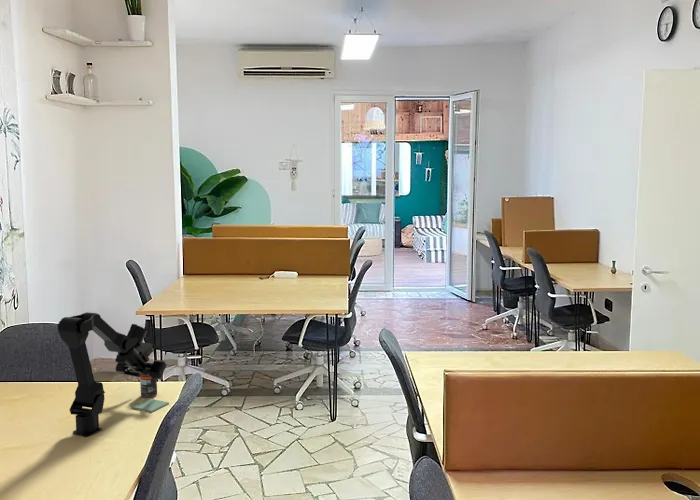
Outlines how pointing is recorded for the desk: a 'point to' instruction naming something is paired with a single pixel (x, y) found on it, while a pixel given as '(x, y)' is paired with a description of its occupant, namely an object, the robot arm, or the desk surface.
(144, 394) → the supplement bottle
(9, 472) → the desk surface
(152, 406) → the mat
